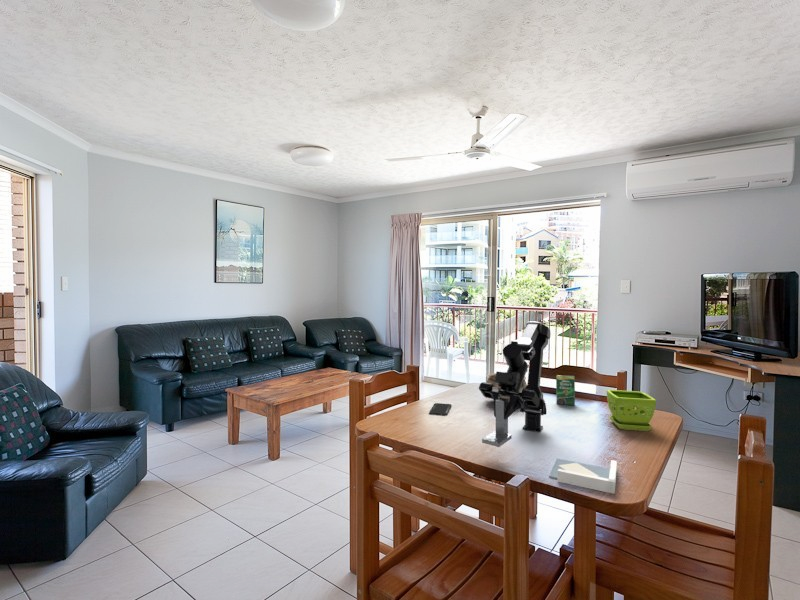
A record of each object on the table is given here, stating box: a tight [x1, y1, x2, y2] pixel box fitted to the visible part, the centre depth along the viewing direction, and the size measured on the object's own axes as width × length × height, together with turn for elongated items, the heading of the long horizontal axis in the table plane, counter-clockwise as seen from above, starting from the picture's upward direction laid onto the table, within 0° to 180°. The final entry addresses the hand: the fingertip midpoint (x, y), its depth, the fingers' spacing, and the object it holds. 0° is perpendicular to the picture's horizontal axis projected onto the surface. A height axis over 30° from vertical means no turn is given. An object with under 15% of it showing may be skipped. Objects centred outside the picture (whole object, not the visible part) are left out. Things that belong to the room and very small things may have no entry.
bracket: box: [481, 398, 513, 448], centre depth 129 cm, size 9×6×12 cm, turn 140°
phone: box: [428, 402, 452, 417], centre depth 183 cm, size 8×1×15 cm
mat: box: [548, 458, 610, 480], centre depth 120 cm, size 14×15×1 cm
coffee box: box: [555, 374, 576, 406], centre depth 193 cm, size 8×3×13 cm, turn 70°
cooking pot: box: [486, 372, 527, 404], centre depth 194 cm, size 25×19×12 cm
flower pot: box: [606, 389, 657, 432], centre depth 162 cm, size 14×14×13 cm
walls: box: [557, 459, 618, 495], centre depth 119 cm, size 16×14×3 cm
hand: (499, 417), depth 130 cm, fingers closed on bracket, 3 cm apart
